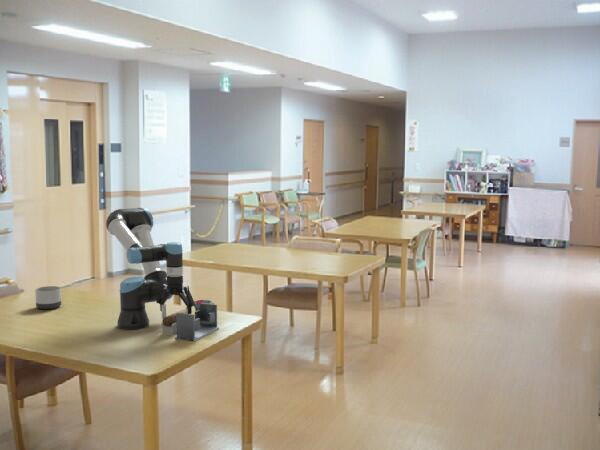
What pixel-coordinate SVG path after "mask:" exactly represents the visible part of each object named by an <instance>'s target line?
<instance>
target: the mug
mask: <svg viewBox="0 0 600 450" xmlns="http://www.w3.org/2000/svg"><path fill="white" fill-rule="evenodd" d="M194 302H195V306H193V307H194V310H195V311H198V310H200V303H207V304H215V303H214V302H212V301H211V300H210V299H209V300H208V299H200V300H199V299H198V300H194ZM195 311H194V312H195Z"/></svg>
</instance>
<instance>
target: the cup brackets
mask: <svg viewBox="0 0 600 450" xmlns="http://www.w3.org/2000/svg"><path fill="white" fill-rule="evenodd" d="M175 313H176V312H175ZM200 325H202V326H209V327H218V304H215V303H214V304H207V303H200V310H198V311H194V314H192V313H191V314H185V313H176V333H177V334H176V336H177V340H183V341H189V342H190V341H191V342H195V341H194V338H195V331H197V330H199V329H200ZM180 337H182V338H180ZM184 338H186V340H185V339H184ZM187 338H188V339H187ZM189 338H190V340H189Z"/></svg>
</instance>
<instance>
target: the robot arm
mask: <svg viewBox="0 0 600 450" xmlns="http://www.w3.org/2000/svg"><path fill="white" fill-rule="evenodd" d="M105 227H106V230H107V232H109V234H111V235H112V236H115V238H116V239H117V241H118V242H119V243H120V244H121V245H122V246H123V248H124V249H125V251H126V259H127V262H128V263H129V264H131V265H132V264H133V265H134V264H135V265H137V264H142V265H141V266H142V268H143V271H144V273H145V275H144V277H143V276H132V277H128V278H125V279H123V280H122V281H121V282H120V283H119V296H120V297H119V299H120V300H119V301H120V302H119V303H120V312H119V316H118V318H117V321H116V322H117V325H116V326H117V328H118V329H120V330H128V331H129V330H139V329H144V328H147V327H149V326H150V319H149V316H148V314H147V310H146V304H149V303H153V302H154V303H155V302H156V304H159V308H160V312H161V319H162V320H163V318H165V317H167V304H166V302H167V300H170V299H171V298H173V296H174V295H175V296H178V297H179V298H180V299H181V300H182V302H183V303H184V304H185V306H186V307H185V310H186V314H192V307H194V306H195V302H194V301H195V300H194V298H193V295H192V293H191V292H190V287H189V285H187V286H184V285H183V283H184V276H183V274H184V267H183V266H184V265H183V264H184V263H183V251H184V250H183V244H182V243H181V242H176V241H173V242H167V243H159V244H156V245H155V243H154V242H153V238H152V234H151V232H152V230H153V227H154V217H153V213H152V212H151V211H150V210H149V209H148V208H146V207H136V208H118V209H115V210H113V211H112V212H110V214H108V216H107V218H106V221H105ZM163 261H165V262H166V270H163V269H162V266H161V262H163Z"/></svg>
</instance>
